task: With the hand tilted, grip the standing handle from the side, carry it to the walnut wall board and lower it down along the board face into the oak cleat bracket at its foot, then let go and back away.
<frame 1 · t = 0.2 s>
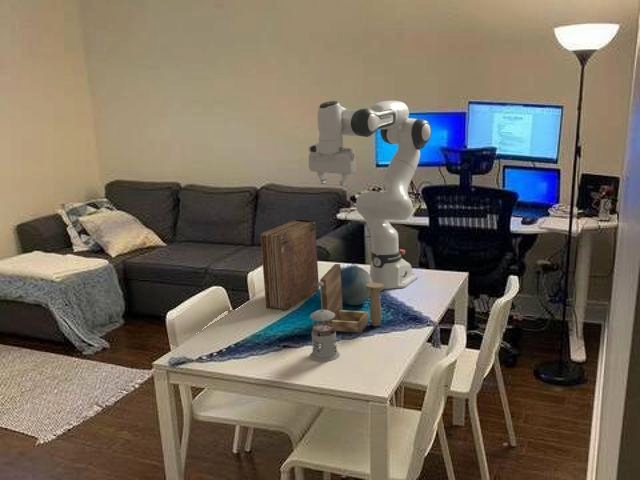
hand: (333, 184, 242), 48 cm above the table, tool pointing down, fingers open, 8 cm apart
cleat board: (348, 325, 235), on the table
decorative ball: (354, 304, 256), on the table
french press: (323, 354, 213), on the table
book: (293, 299, 265), on the table
handle: (376, 325, 234), on the table
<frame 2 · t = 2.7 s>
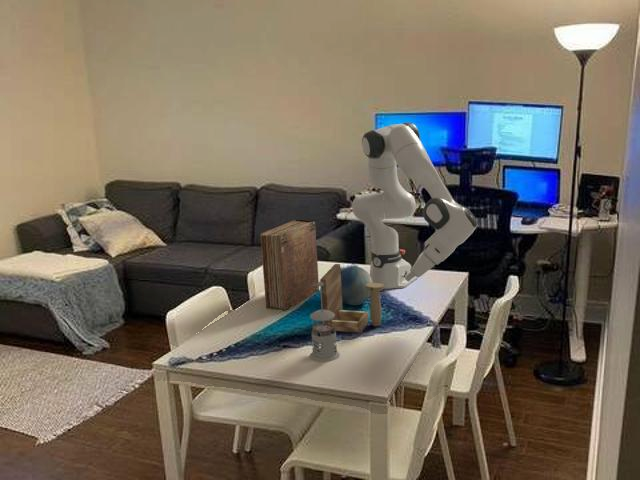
hand: (409, 275, 225), 19 cm above the table, tool tilted 45°, fingers open, 8 cm apart
nothing on the table moved.
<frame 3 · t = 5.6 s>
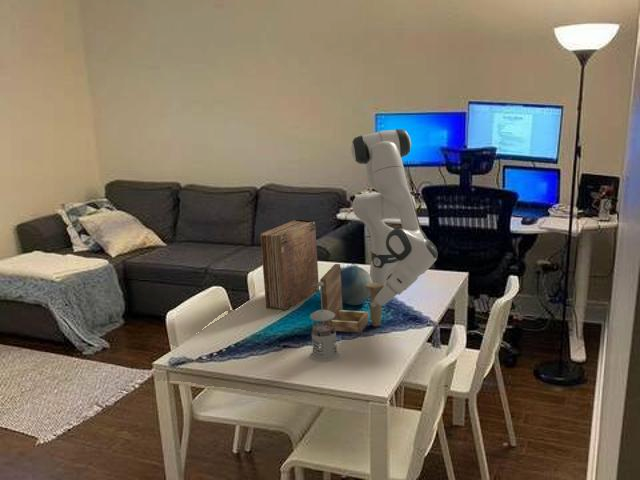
hand: (373, 302, 232), 8 cm above the table, tool tilted 45°, fingers closed on handle, 3 cm apart
handle: (376, 325, 234), on the table, touching gripper
everything else where it was.
when the fingers open (10 cm above the table, at t = 10.2 s): handle stays where it is, resting in cleat board.
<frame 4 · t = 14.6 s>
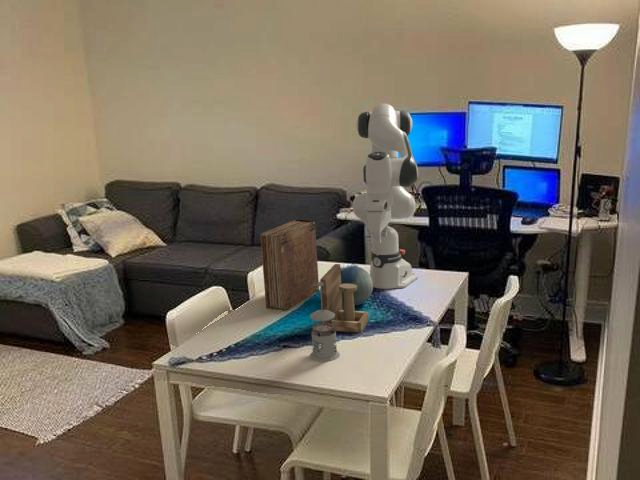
hand: (381, 240, 226), 31 cm above the table, tool pointing down, fingers open, 8 cm apart
handle: (349, 326, 235), resting in cleat board
everything else where it was.
at the end: handle inside the target area on the cleat board (0.6 cm from its centre), point 0.0 cm above the cleat board's base; handle tilted 0°; the gripper is holding nothing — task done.
